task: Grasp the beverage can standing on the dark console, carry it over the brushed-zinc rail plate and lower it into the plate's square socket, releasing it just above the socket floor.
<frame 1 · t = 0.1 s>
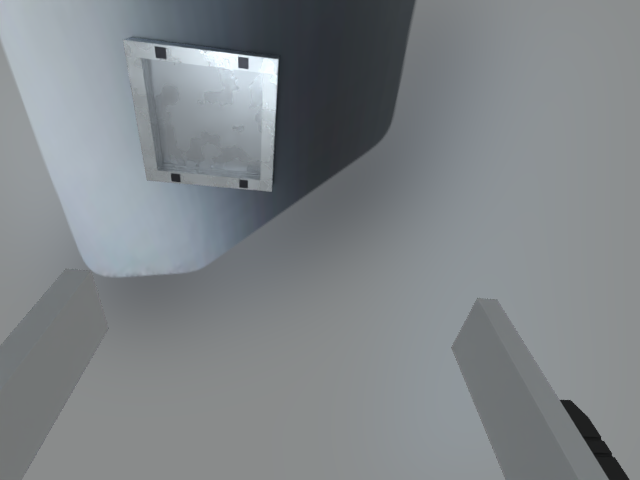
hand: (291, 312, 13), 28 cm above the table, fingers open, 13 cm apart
rail plate: (211, 119, 36), on the table
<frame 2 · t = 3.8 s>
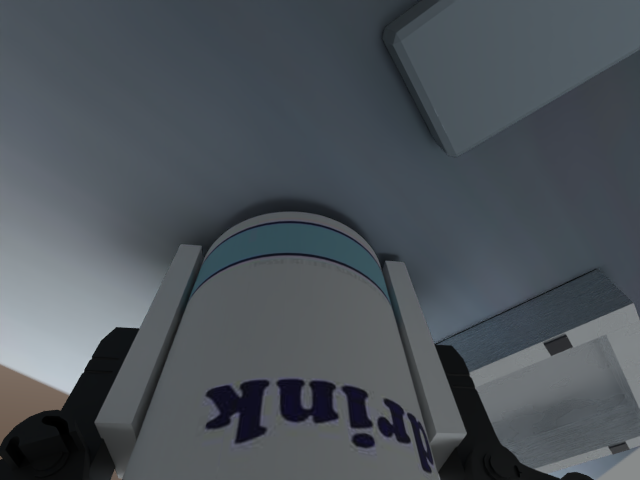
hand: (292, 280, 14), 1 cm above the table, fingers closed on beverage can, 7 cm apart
rail plate: (505, 393, 20), on the table
beverage can: (293, 268, 15), on the table, touching gripper
when the fingers open (3 cm above the table, at t = 8.9 s): beverage can drops 2 cm, resting on rail plate.
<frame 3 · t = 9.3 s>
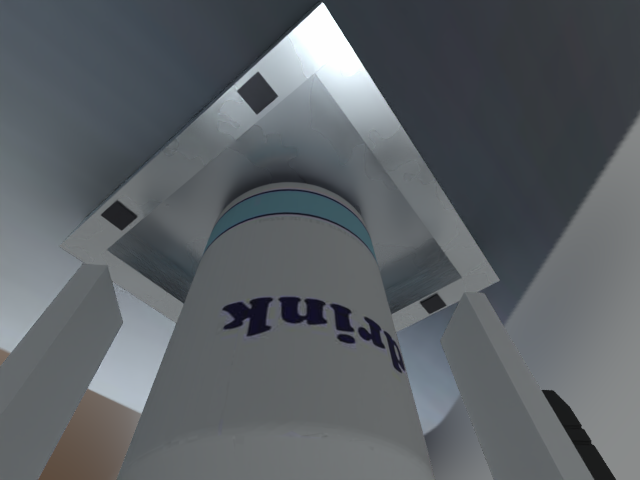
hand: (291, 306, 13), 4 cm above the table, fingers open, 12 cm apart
rail plate: (294, 237, 17), on the table
beverage can: (292, 238, 16), resting on rail plate
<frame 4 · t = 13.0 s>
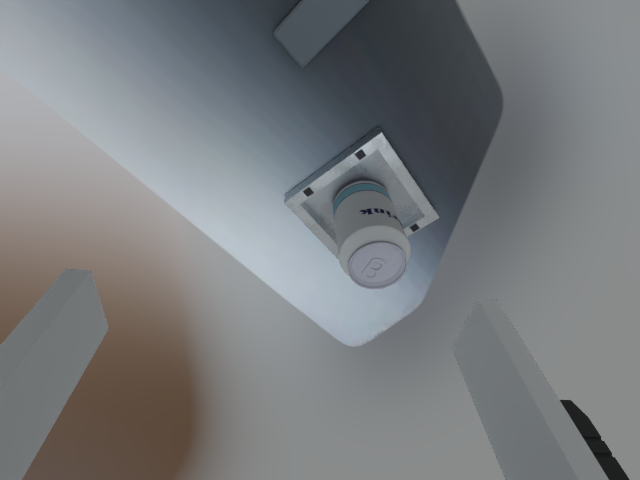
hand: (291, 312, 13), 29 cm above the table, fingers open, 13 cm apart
rail plate: (361, 202, 43), on the table
beverage can: (360, 202, 43), resting on rail plate
bracket: (329, 4, 32), on the table
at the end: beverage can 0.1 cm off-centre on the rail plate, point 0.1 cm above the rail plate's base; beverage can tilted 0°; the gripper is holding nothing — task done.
